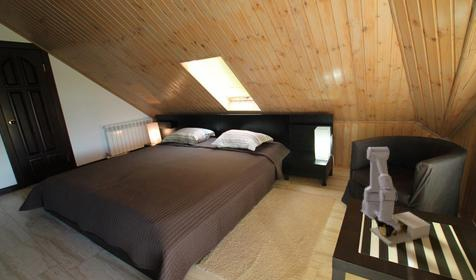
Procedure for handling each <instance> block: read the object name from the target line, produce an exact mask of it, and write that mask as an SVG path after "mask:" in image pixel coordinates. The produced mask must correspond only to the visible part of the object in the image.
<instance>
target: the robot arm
mask: <svg viewBox="0 0 476 280" xmlns="http://www.w3.org/2000/svg"><path fill="white" fill-rule="evenodd" d="M389 156H390V149H389V148H388V146H368V147H367V149H366V159H367V160H369V163H370V165H369V166H370V168H369V185H368V186H367V187H365V188H364V192H363V200H362V203H361V209H360V212H362V213H363V214H364V215H366V216H367V217H368V218H369V219H371V220H374V221H375V223H376V226H377V227H378V228H379V227H381V226H384V225H385V224H386V225H385V229H386V237H390V236H391V234H392V232H393V231H394V230H399V229H400V226H399V225H397V223H396V222H395V221H394V220H393V215H394V208H395V202H397V200H398V192H397V190H396V188H395V186H394V184H393V180H392V176H390V174H389V171H388V164H387V163H388V162H387V161H388V159H389V158H390V157H389ZM387 224H388V225H387Z"/></svg>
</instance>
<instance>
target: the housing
mask: <svg viewBox="0 0 476 280" xmlns="http://www.w3.org/2000/svg"><path fill="white" fill-rule="evenodd" d="M393 220H394V221H395V222H396V223H399V222H403V223H404V224H406V225H407V226H408V228H407V231H402V232H398V233H397V236H395V235H394V234H391V236H390V237H386V235H385V236H383V235H381V234H380V232H379V230H378V226H377V227H371V228H369V231H370V232H371V233H372V234H373V235H375V236H376V235H377V236H378V237H377V236H376V237H377V238H378V239H380V240H381V242H384V244H386V245H387V246H391V245H396V244H397V245H398V244H401V243H405V242H409V241H413V240H417V239H418V238H419V239H423V238H427V237H429V235H430V229H431V224H430V223H428V222H426V221H425V220H424V219H422V218H420V217H418V216H417V215H415V214H413V213H412V212H410V211H405V212H400V213H395V214H393ZM384 226H385V224H384ZM422 237H423V238H422ZM419 239H418V240H419Z"/></svg>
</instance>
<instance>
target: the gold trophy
mask: <svg viewBox="0 0 476 280" xmlns="http://www.w3.org/2000/svg"><path fill="white" fill-rule="evenodd" d="M386 225H388V224H387V223H386ZM397 225H399V226H400V229H399V230H394V231H393V232H392V234H394V235H395V236H397V233H398V232H402V231H407V228H408V226H407V225H406V224H404V223H403V222H399V223H397ZM378 230H379V232H380V234H381V235H383V236H385V235H386V229H385V226H381V227H379V228H378Z"/></svg>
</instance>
